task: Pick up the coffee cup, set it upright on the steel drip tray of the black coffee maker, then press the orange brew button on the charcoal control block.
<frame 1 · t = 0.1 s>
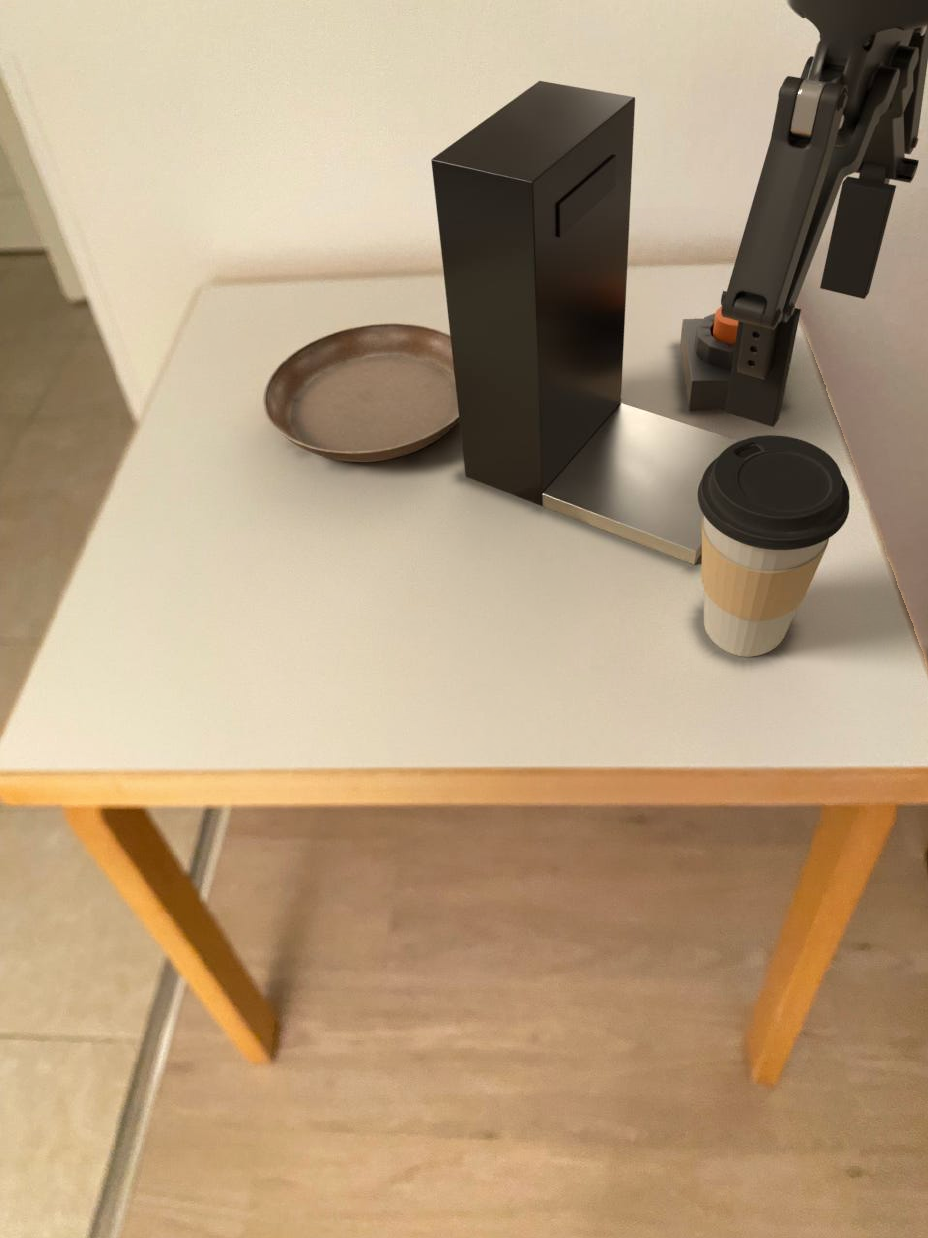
hand: (800, 349, 55), 24 cm above the table, tool pointing down, fingers open, 13 cm apart
plant saucer: (377, 411, 94), on the table
brew button: (734, 324, 88), point 6 cm above the table, slide at 0.1 cm
coffee cup: (744, 629, 73), on the table
coffee maker: (654, 484, 83), on the table
control block: (726, 376, 92), on the table
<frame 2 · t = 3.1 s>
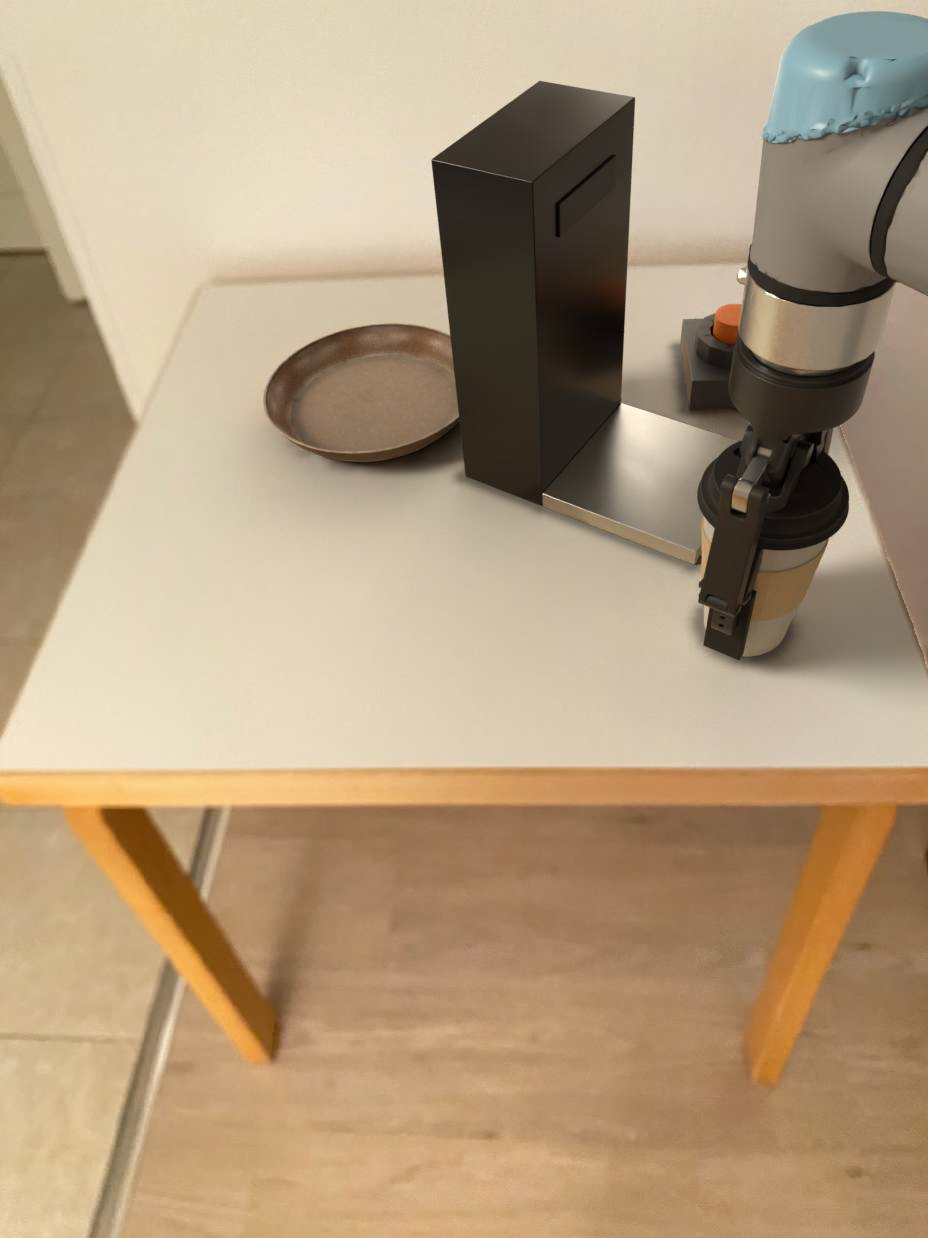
hand: (748, 608, 71), 2 cm above the table, tool pointing down, fingers closed on coffee cup, 8 cm apart
coffee cup: (744, 629, 73), on the table, touching gripper
everything else where it was.
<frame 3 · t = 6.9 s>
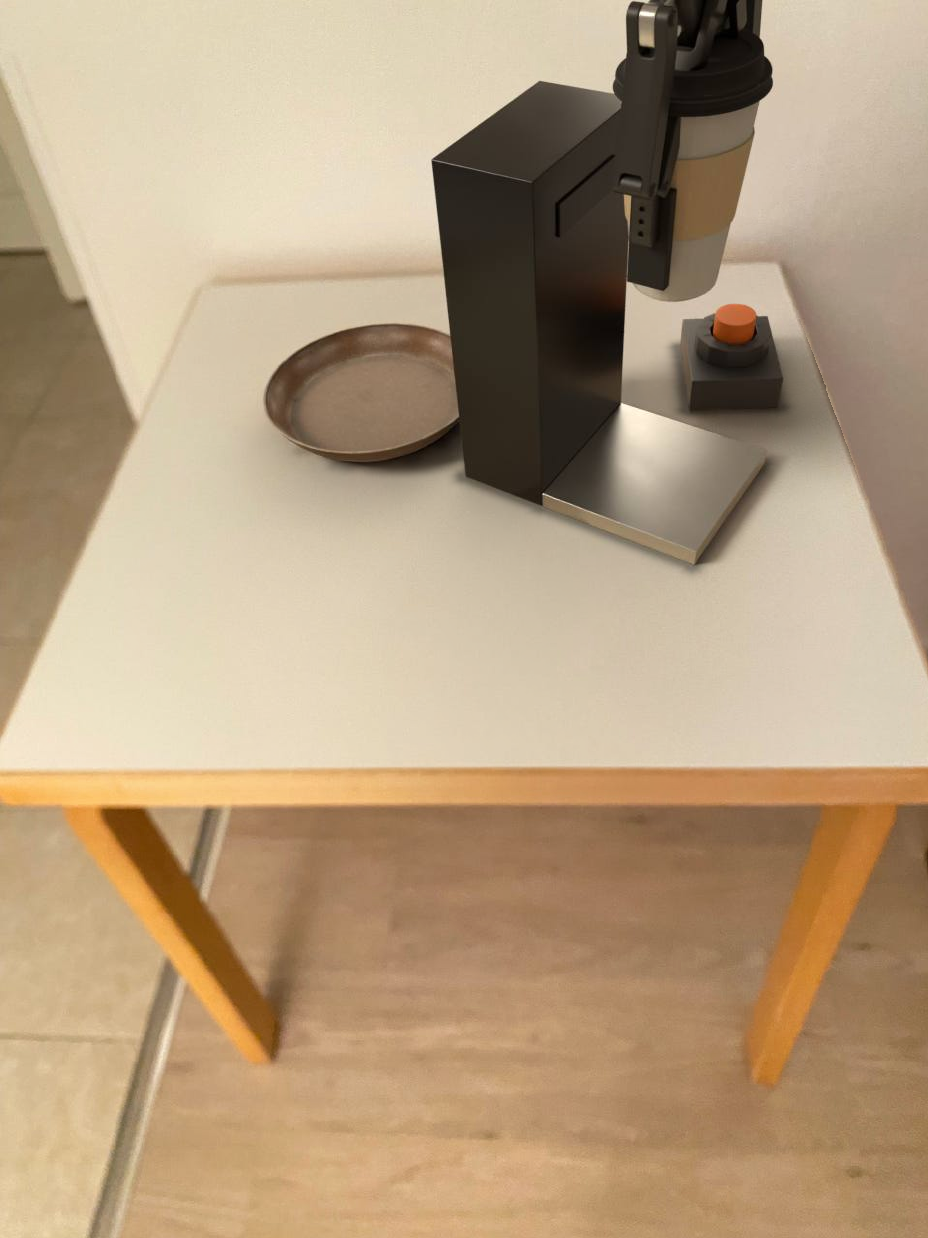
hand: (677, 252, 67), 22 cm above the table, tool pointing down, fingers closed on coffee cup, 8 cm apart
coffee cup: (674, 282, 68), point 19 cm above the table, touching gripper
everything else where it was.
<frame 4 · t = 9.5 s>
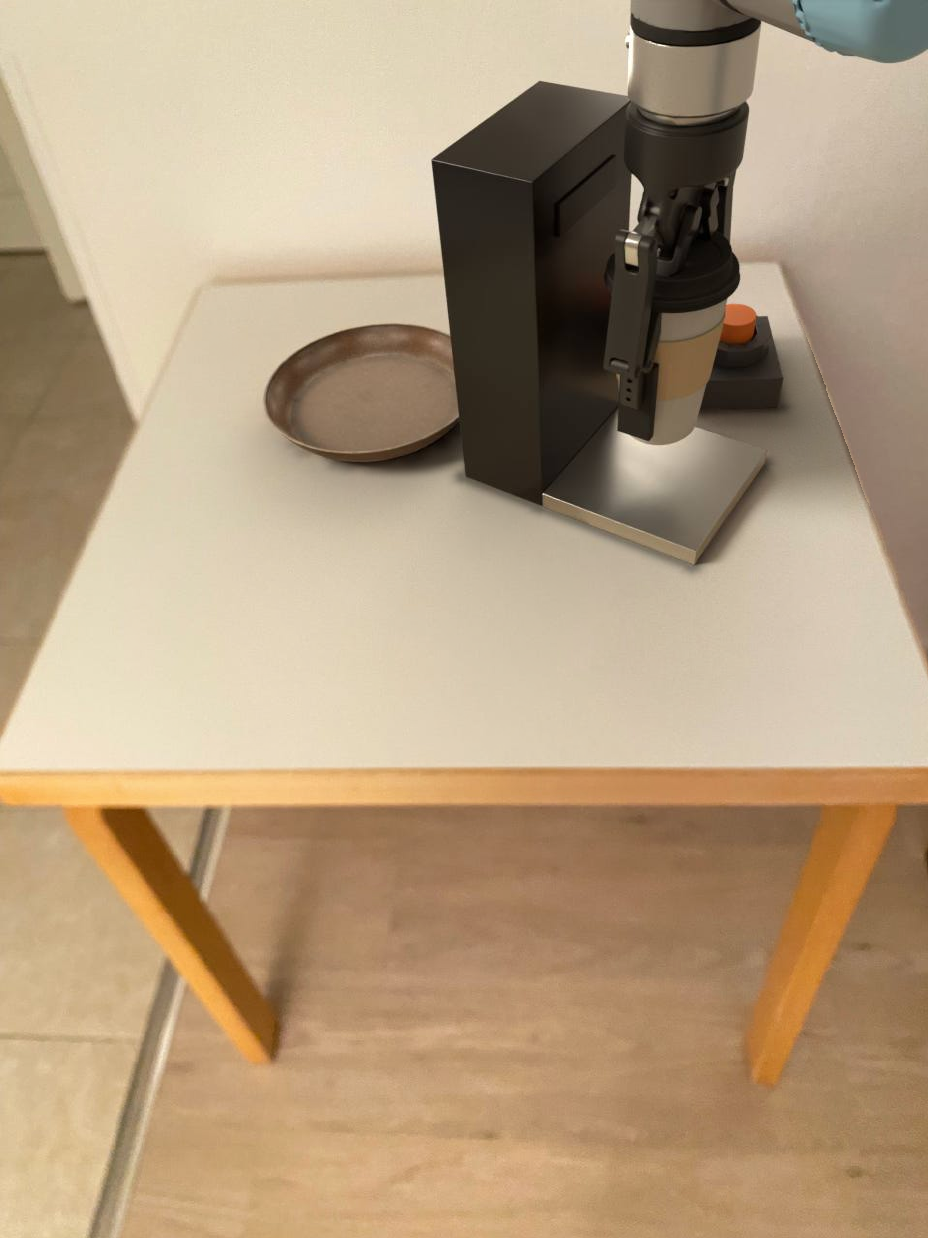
hand: (661, 401, 77), 9 cm above the table, tool pointing down, fingers closed on coffee cup, 8 cm apart
coffee cup: (658, 425, 79), point 6 cm above the table, touching gripper
everything else where it was.
when the fingers open (4 cm above the table, at t = 11.2 s): coffee cup stays where it is, resting on coffee maker.
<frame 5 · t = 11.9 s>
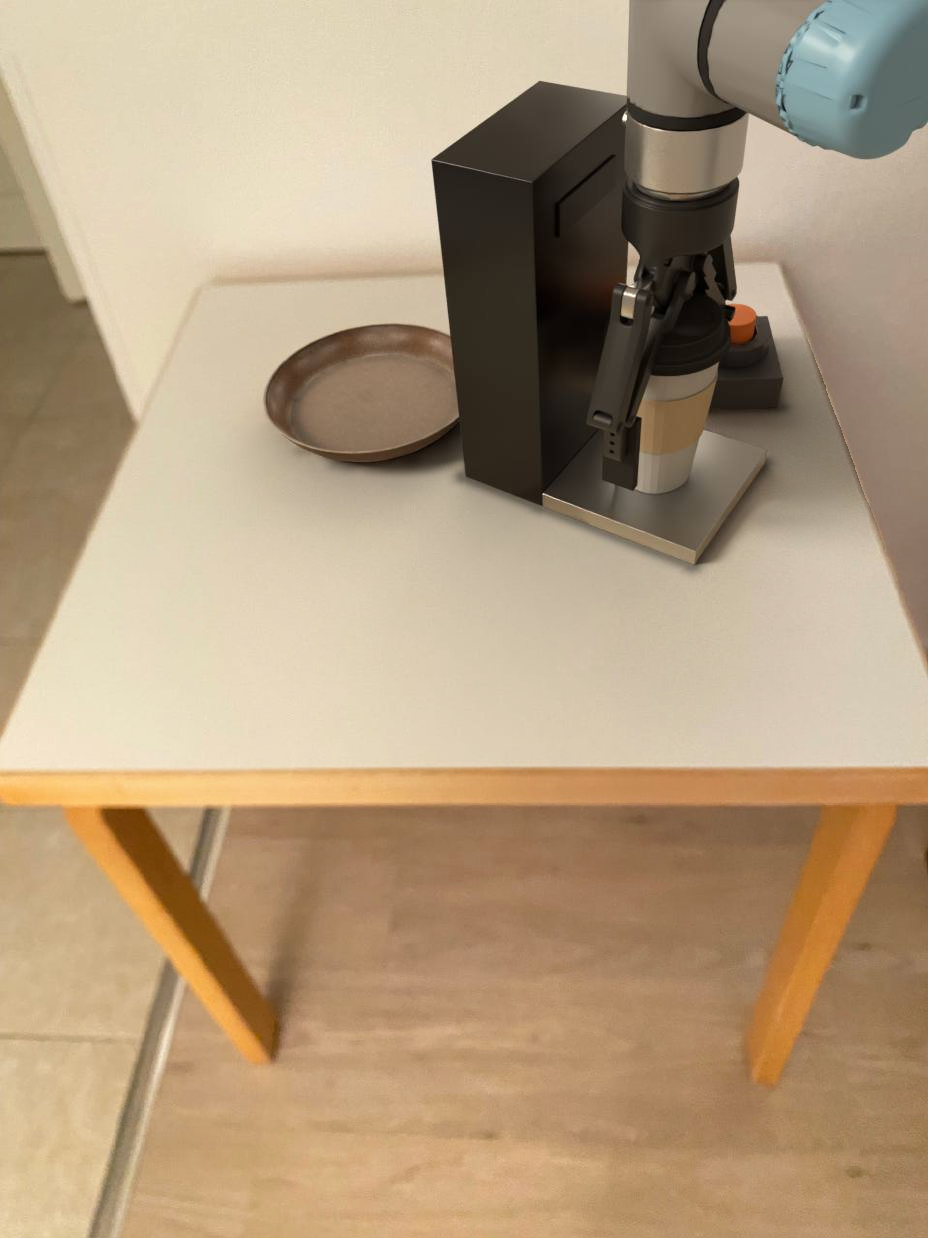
hand: (659, 434, 79), 6 cm above the table, tool pointing down, fingers open, 13 cm apart
coffee cup: (654, 473, 82), point 1 cm above the table, touching coffee maker
everything else where it was.
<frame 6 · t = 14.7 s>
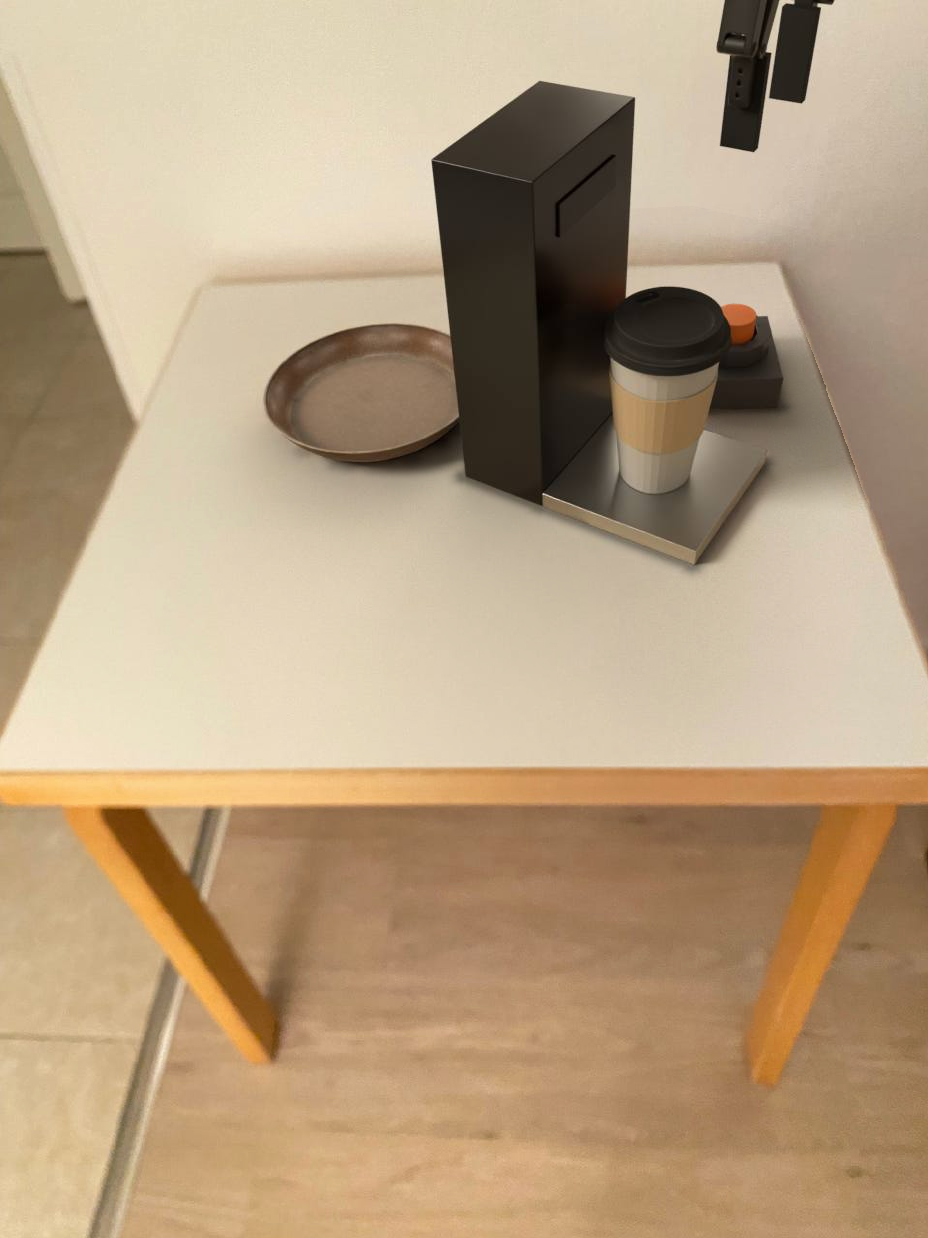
hand: (763, 121, 75), 23 cm above the table, tool pointing down, fingers open, 8 cm apart
nothing on the table moved.
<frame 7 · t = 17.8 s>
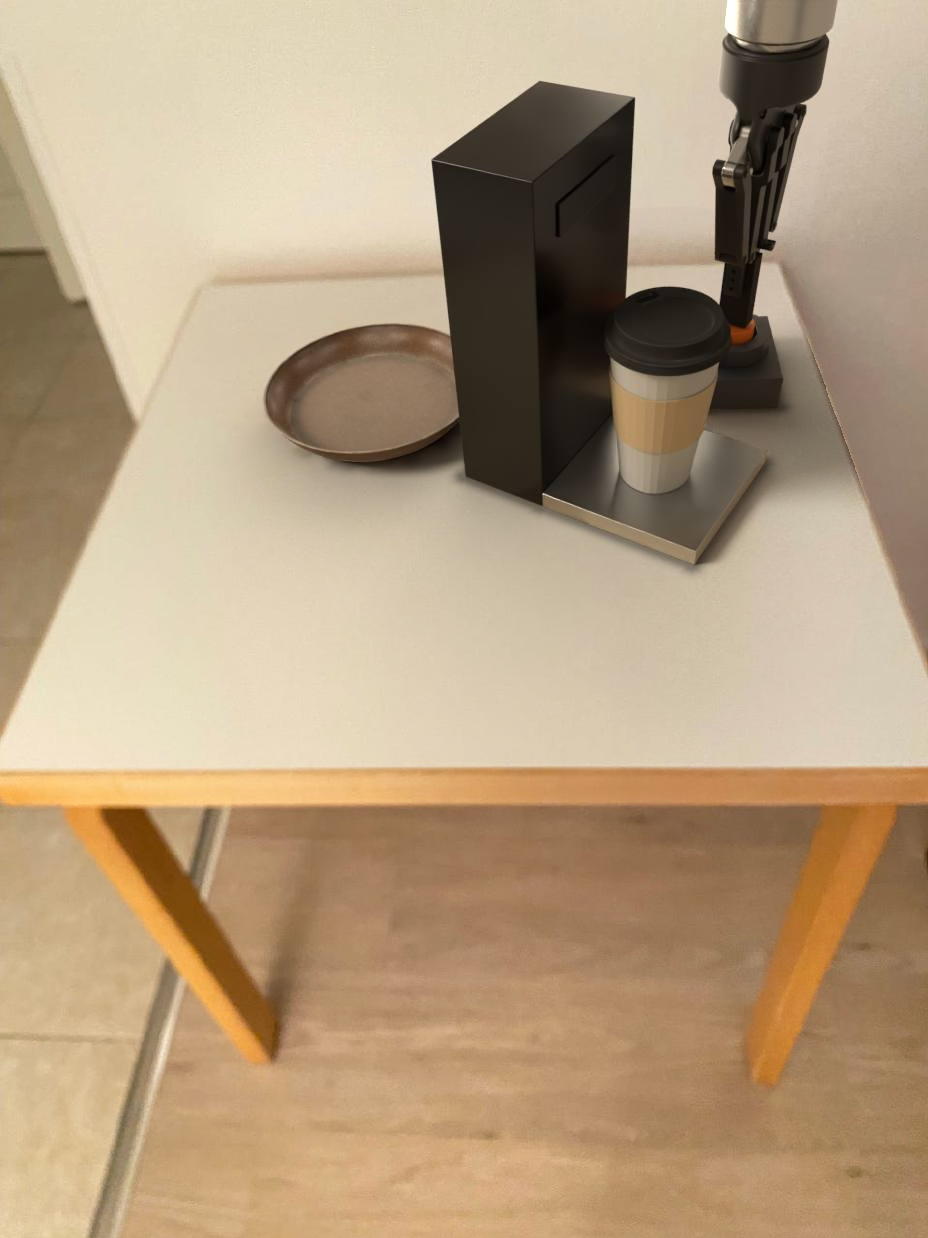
hand: (734, 320, 88), 6 cm above the table, tool pointing down, fingers closed
brew button: (733, 332, 89), point 5 cm above the table, slide at -0.8 cm, touching gripper
everything else where it was.
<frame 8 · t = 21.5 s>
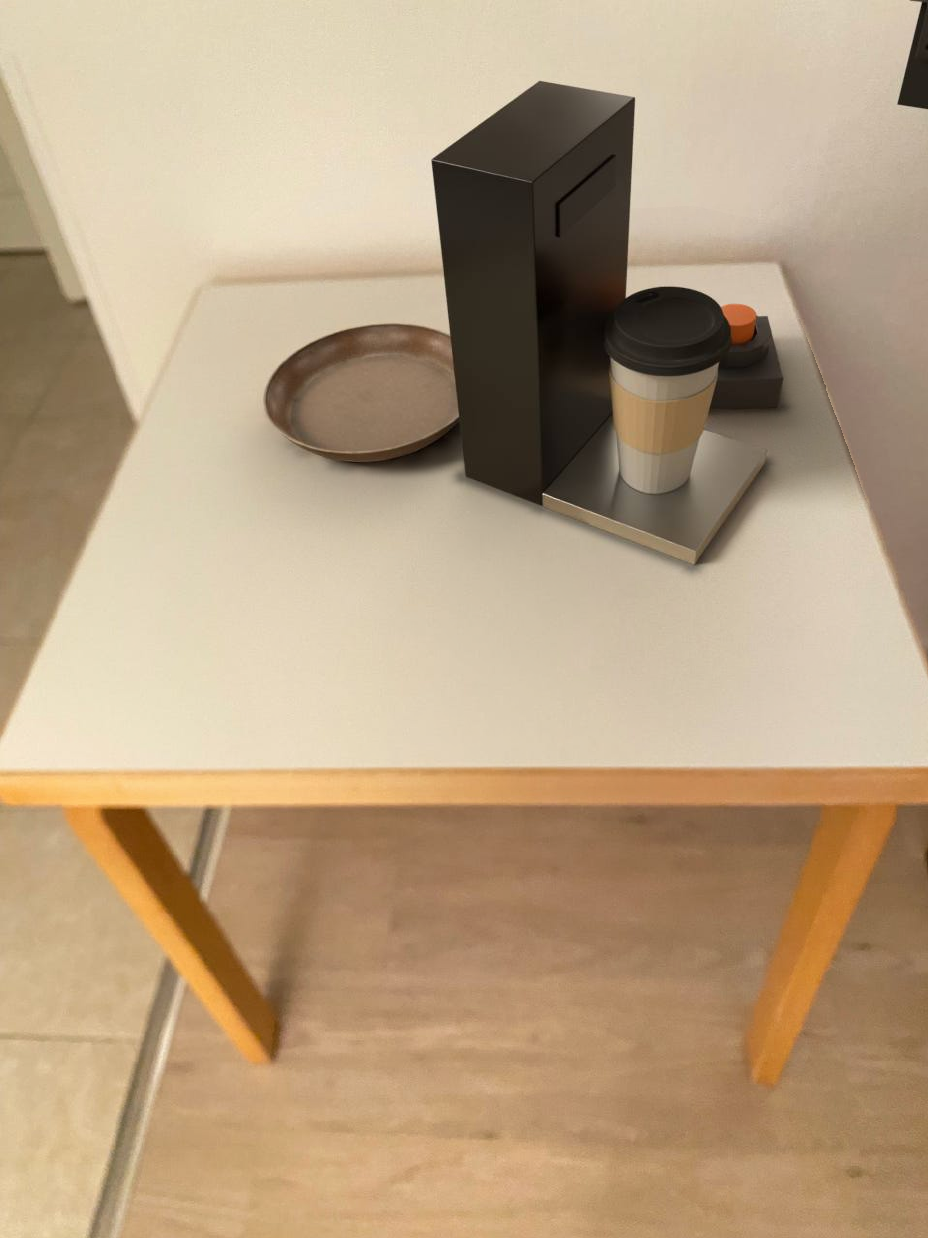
hand: (920, 102, 68), 26 cm above the table, tool pointing down, fingers closed
brew button: (734, 324, 88), point 6 cm above the table, slide at 0.1 cm
everything else where it was.
at the end: coffee cup inside the target area on the coffee maker (0.1 cm from its centre), point 1.3 cm above the coffee maker's base; coffee cup tilted 0°; brew button pushed in 1.0 cm at the most during the clip, back to where it started at the end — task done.
